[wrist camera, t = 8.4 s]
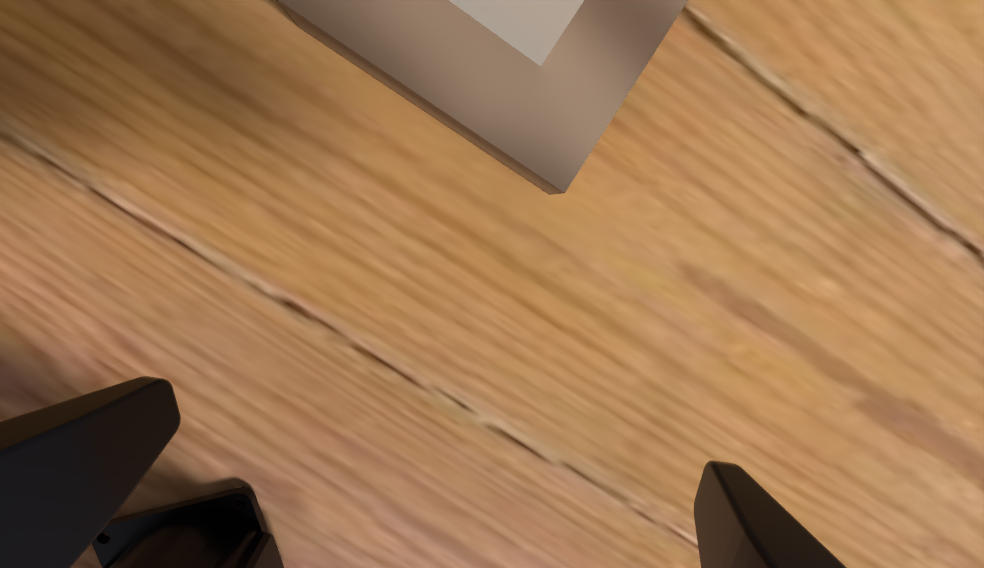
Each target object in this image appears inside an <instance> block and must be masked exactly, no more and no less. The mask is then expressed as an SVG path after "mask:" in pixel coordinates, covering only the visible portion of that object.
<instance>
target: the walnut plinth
mask: <svg viewBox="0 0 984 568" xmlns="http://www.w3.org/2000/svg"><path fill="white" fill-rule="evenodd" d="M277 1H278V2H279V4H280V5H281V6H282V7H283V8H284V10H285V11H286V12H287V13H288V14H289V16H290V17H291V18H292V19H293V20H294V22H295V23H296V24H297V25H298V26H299V27H300V28H301V29H302V30H304V31H305V32H307V33H308V34H310V35H311V36H313V37H314V38H316V39H317V40H319V41H320V42H322V43H323V44H325V45H326V46H328V47H329V48H331V49H332V50H334V51H335V52H337V53H338V54H340V55H341V56H343V57H344V58H346V59H347V60H349V61H350V62H352V63H353V64H355V65H356V66H358V67H359V68H361V69H362V70H364V71H365V72H367V73H368V74H370V75H371V76H373V77H374V78H376V79H377V80H378V81H380V82H381V83H383V84H384V85H386V86H387V87H389V88H390V89H392V90H393V91H395V92H396V93H398V94H399V95H401V96H402V97H404V98H405V99H407V100H408V101H410V102H411V103H413V104H414V105H416V106H417V107H419V108H420V109H422V110H423V111H425V112H426V113H428V114H429V115H431V116H432V117H434V118H435V119H437V120H438V121H440V122H441V123H443V124H444V125H446V126H447V127H449V128H450V129H452V130H453V131H455V132H456V133H458V134H459V135H461V136H462V137H464V138H465V139H467V140H468V141H470V142H471V143H473V144H474V145H476V146H477V147H479V148H480V149H482V150H483V151H485V152H486V153H488V154H489V155H491V156H492V157H494V158H495V159H497V160H498V161H500V162H501V163H503V164H504V165H506V166H507V167H509V168H510V169H512V170H513V171H515V172H516V173H518V174H519V175H521V176H522V177H524V178H525V179H527V180H528V181H530V182H531V183H533V184H534V185H536V186H537V187H539V188H540V189H542V190H543V191H545V192H546V193H548V194H549V195H551V194H560V193H565V192H566V190H567V189H568V187H569V186H570V184H571V182H572V181H573V179H574V178H575V176H576V175H577V173H578V171H579V170H580V168H581V167H582V165H583V164H584V162H585V160H586V159H587V157H588V156H589V154H590V153H591V151H592V149H593V148H594V146H595V145H596V143H597V142H598V140H599V139H600V137H601V135H602V134H603V132H604V131H605V129H606V128H607V126H608V124H609V123H610V121H611V120H612V118H613V117H614V115H615V113H616V112H617V110H618V109H619V107H620V106H621V104H622V103H623V101H624V99H625V98H626V96H627V95H628V93H629V92H630V90H631V88H632V87H633V85H634V84H635V82H636V81H637V79H638V77H639V76H640V74H641V73H642V71H643V70H644V68H645V67H646V65H647V63H648V62H649V60H650V59H651V57H652V56H653V54H654V52H655V51H656V49H657V48H658V46H659V45H660V43H661V41H662V40H663V38H664V37H665V35H666V34H667V32H668V31H669V29H670V27H671V26H672V24H673V23H674V21H675V20H676V18H677V16H678V15H679V13H680V12H681V10H682V9H683V7H684V5H685V4H686V2H687V1H688V0H584V1H583V3H582V4H581V6H580V7H579V9H578V10H577V12H576V14H575V15H574V17H573V18H572V20H571V21H570V23H569V24H568V26H567V27H566V29H565V30H564V32H563V33H562V35H561V36H560V38H559V39H558V41H557V42H556V44H555V45H554V47H553V48H552V50H551V51H550V53H549V54H548V56H547V57H546V59H545V60H544V62H543V63H542V65H541V66H539V65H538V64H536V63H535V62H534V61H532V60H531V59H529V58H528V57H527V56H525V55H524V54H522V53H521V52H520V51H518V50H517V49H516V48H514V47H513V46H511V45H510V44H509V43H507V42H506V41H504V40H503V39H502V38H500V37H499V36H498V35H496V34H495V33H493V32H492V31H491V30H489V29H488V28H486V27H485V26H484V25H482V24H481V23H479V22H478V21H477V20H475V19H474V18H473V17H471V16H470V15H468V14H467V13H466V12H464V11H463V10H461V9H460V8H459V7H457V6H456V5H454V4H453V3H452V2H450V1H449V0H277Z"/></svg>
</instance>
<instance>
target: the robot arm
mask: <svg viewBox="0 0 984 568" xmlns="http://www.w3.org/2000/svg"><path fill="white" fill-rule="evenodd" d="M180 419H181V417H180V412H179V409H178V405H177V401H176V398H175V394H174V391H173V387H172V385H171V383H170V382H169V381H168V380H166V379H162V378H155V377H148V376H144V377H139V378H136V379H133V380H129V381H126V382H123V383H120V384H117V385H114V386H111V387H108V388H104V389H101V390H98V391H95V392H92V393H89V394H86V395H83V396H79V397H76V398H73V399H70V400H67V401H64V402H61V403H58V404H55V405H51V406H48V407H45V408H42V409H39V410H36V411H33V412H30V413H26V414H23V415H20V416H17V417H14V418H11V419H8V420H5V421H1V422H0V568H70V567H71V566H72V565H73V564H74V562H75V561H76V560H77V559H78V558H79V557H80V555H81V554H82V553H83V552H84V551H85V550H86V548H87V547H88V546H89V545H90V544H91V543H92V545H93V547H94V549H95V552H96V554H97V556H98V559H99V561H100V563H101V566H102V568H284V566H283V563H282V560H281V557H280V555H279V552H278V549H277V546H276V543H275V540H274V537H273V535H272V534H271V533H270V532H269V531H268V530H267V527H266V524H265V521H264V519H263V516H262V513H261V510H260V507H259V505H258V502H257V499H256V496H255V494H254V492H253V491H252V490H251V489H249V488H246V487H239V488H235V489H231V490H228V491H224V492H220V493H216V494H212V495H208V496H204V497H200V498H196V499H192V500H188V501H184V502H180V503H176V504H172V505H168V506H164V507H160V508H156V509H152V510H148V511H144V512H140V513H136V514H132V515H129V516H125V517H121V518H117V519H113V520H111V519H112V518H113V517H114V515H115V514H116V513H117V512H118V511H119V509H120V508H121V507H122V505H123V504H124V503H125V501H126V500H127V499H128V497H129V496H130V495H131V493H132V492H133V491H134V489H135V488H136V486H137V485H138V484H139V482H140V481H141V480H142V478H143V477H144V475H145V474H146V473H147V471H148V470H149V469H150V467H151V466H152V464H153V463H154V462H155V460H156V459H157V458H158V456H159V455H160V453H161V452H162V451H163V449H164V448H165V447H166V445H167V444H168V442H169V441H170V440H171V438H172V437H173V436H174V434H175V433H176V431H177V430H178V427H179V425H180ZM237 498H241V499H243V500H244V501H245V503H240V502H239V501H238V500H237ZM694 519H695V526H696V533H697V540H698V548H699V555H700V562H701V568H847V567H845V566H844V565H843V564H842V563H841V562H840V561H839V560H838V559H837V558H836V557H835V556H834V555H833V554H832V553H831V552H830V551H829V550H828V549H827V548H825V547H824V546H823V545H822V544H821V543H820V542H819V541H818V540H817V539H816V538H815V537H814V536H813V535H812V534H811V533H810V532H809V531H808V530H807V529H805V528H804V527H803V526H802V525H801V524H800V523H799V522H798V521H797V520H796V519H795V518H794V517H793V516H792V515H791V514H790V513H789V512H788V511H787V510H785V509H784V508H783V507H782V506H781V505H780V504H779V503H778V502H777V501H776V500H775V499H774V498H773V497H772V496H771V495H770V494H769V493H768V492H767V491H766V490H764V489H763V488H762V487H761V486H760V485H759V484H758V483H757V482H756V481H755V480H754V479H753V478H752V477H751V476H750V475H749V474H748V473H747V472H746V471H744V470H743V469H742V468H741V467H740V466H738V465H736V464H733V463H726V462H720V461H709V462H707V464H706V465H705V467H704V470H703V474H702V477H701V480H700V484H699V487H698V491H697V494H696V497H695V502H694ZM104 533H106V534H108V535H109V536H110V537H108V536H106V535H105V534H104Z"/></svg>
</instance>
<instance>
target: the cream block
mask: <svg viewBox="0 0 984 568" xmlns="http://www.w3.org/2000/svg"><path fill="white" fill-rule="evenodd" d="M449 1H450V2H452V3H453V4H454V5H456V6H457V7H459V8H460V9H461V10H463V11H464V12H466V13H467V14H468V15H470V16H471V17H473V18H474V19H475V20H477V21H478V22H479V23H481V24H482V25H484V26H485V27H486V28H488V29H489V30H491V31H492V32H493V33H495V34H496V35H498V36H499V37H500V38H502V39H503V40H504V41H506V42H507V43H509V44H510V45H511V46H513V47H514V48H516V49H517V50H518V51H520V52H521V53H522V54H524V55H525V56H527V57H528V58H529V59H531V60H532V61H534V62H535V63H536V64H538V65H539V66H541V65H542V63H543V62H544V60H545V59H546V57H547V56H548V54H549V53H550V51H551V50H552V48H553V47H554V45H555V44H556V42H557V41H558V39H559V38H560V36H561V35H562V33H563V32H564V30H565V29H566V27H567V26H568V24H569V23H570V21H571V20H572V18H573V17H574V15H575V14H576V12H577V10H578V9H579V7H580V6H581V4H582V3H583V1H584V0H449Z"/></svg>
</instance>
